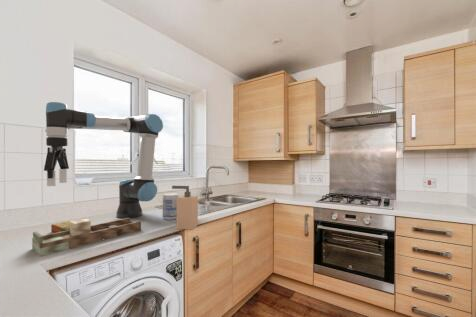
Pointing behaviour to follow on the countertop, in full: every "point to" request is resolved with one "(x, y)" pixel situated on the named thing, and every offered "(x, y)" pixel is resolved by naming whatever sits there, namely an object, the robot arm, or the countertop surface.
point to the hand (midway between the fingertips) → (57, 184)
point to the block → (80, 227)
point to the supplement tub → (170, 206)
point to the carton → (60, 227)
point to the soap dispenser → (186, 209)
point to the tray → (82, 236)
